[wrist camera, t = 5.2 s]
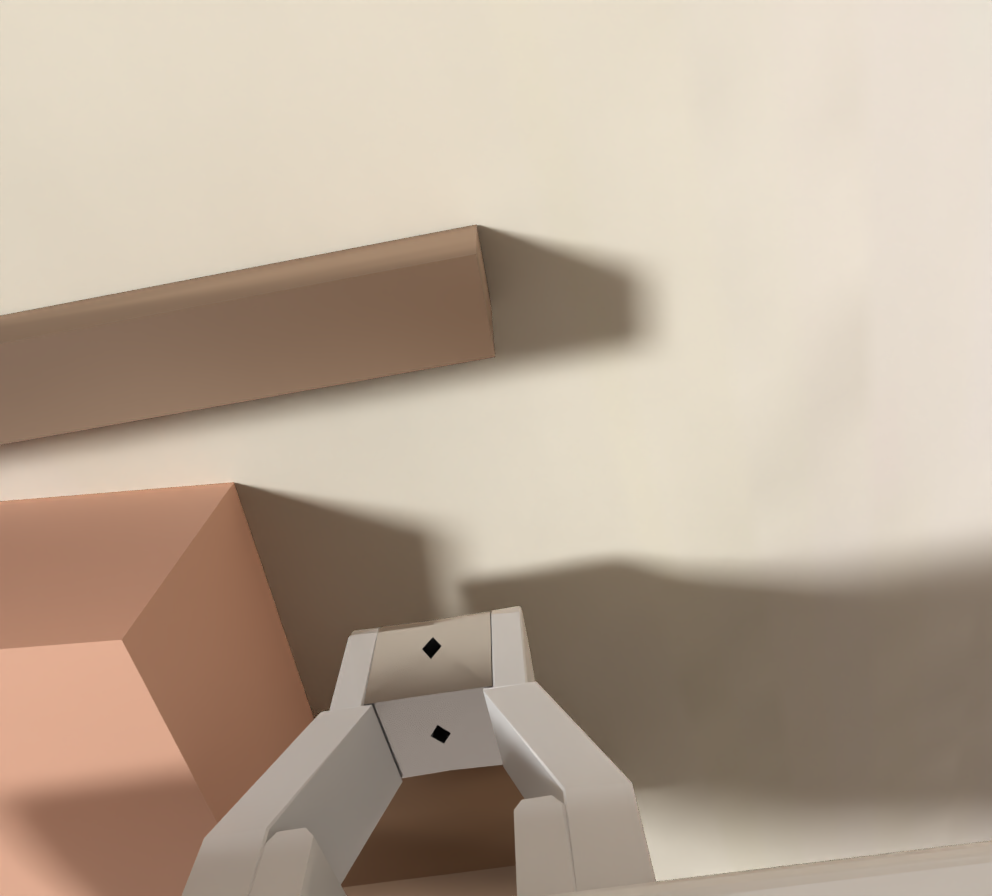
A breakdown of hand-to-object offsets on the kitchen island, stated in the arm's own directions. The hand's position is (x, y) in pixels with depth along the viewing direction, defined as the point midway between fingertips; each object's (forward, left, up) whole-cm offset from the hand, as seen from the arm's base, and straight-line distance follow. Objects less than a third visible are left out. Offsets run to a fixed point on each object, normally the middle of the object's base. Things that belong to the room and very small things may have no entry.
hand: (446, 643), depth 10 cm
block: (0, +7, -2) cm, 7 cm away
